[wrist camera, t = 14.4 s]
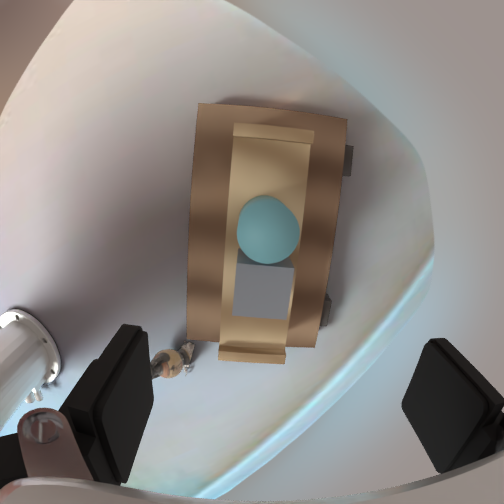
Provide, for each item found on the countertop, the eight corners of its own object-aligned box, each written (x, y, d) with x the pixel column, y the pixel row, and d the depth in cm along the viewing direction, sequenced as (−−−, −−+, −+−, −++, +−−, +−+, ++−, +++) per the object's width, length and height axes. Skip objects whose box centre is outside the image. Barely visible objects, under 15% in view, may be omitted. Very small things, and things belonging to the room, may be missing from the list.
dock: (318, 334, 36) (323, 347, 33) (191, 326, 35) (186, 339, 32) (347, 124, 30) (356, 121, 27) (203, 109, 29) (198, 103, 26)
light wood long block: (279, 334, 32) (284, 364, 27) (222, 330, 32) (218, 360, 27) (301, 137, 27) (314, 131, 22) (236, 131, 27) (234, 122, 22)
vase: (146, 361, 37) (132, 387, 31) (154, 326, 36) (139, 349, 30) (186, 375, 37) (178, 402, 31) (196, 340, 36) (188, 365, 30)
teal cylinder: (286, 247, 25) (295, 266, 20) (236, 242, 25) (234, 260, 20) (292, 198, 24) (303, 205, 19) (241, 192, 24) (240, 199, 19)
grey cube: (281, 298, 26) (286, 319, 23) (234, 294, 26) (231, 315, 22) (287, 252, 25) (294, 268, 22) (238, 248, 25) (236, 263, 21)
